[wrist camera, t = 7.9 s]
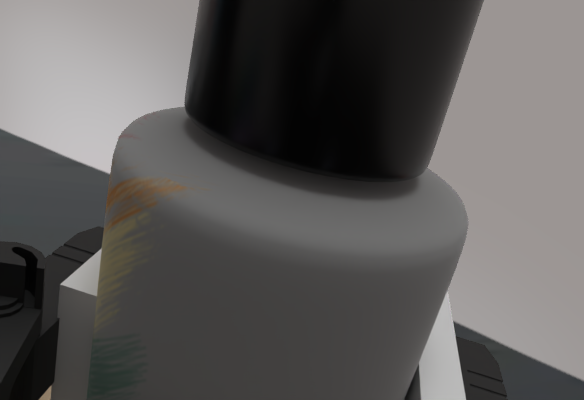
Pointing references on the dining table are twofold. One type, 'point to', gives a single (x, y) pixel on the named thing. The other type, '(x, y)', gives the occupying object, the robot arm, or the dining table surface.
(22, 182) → the dining table surface
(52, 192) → the dining table surface
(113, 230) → the lotion bottle
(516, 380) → the dining table surface
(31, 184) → the dining table surface
